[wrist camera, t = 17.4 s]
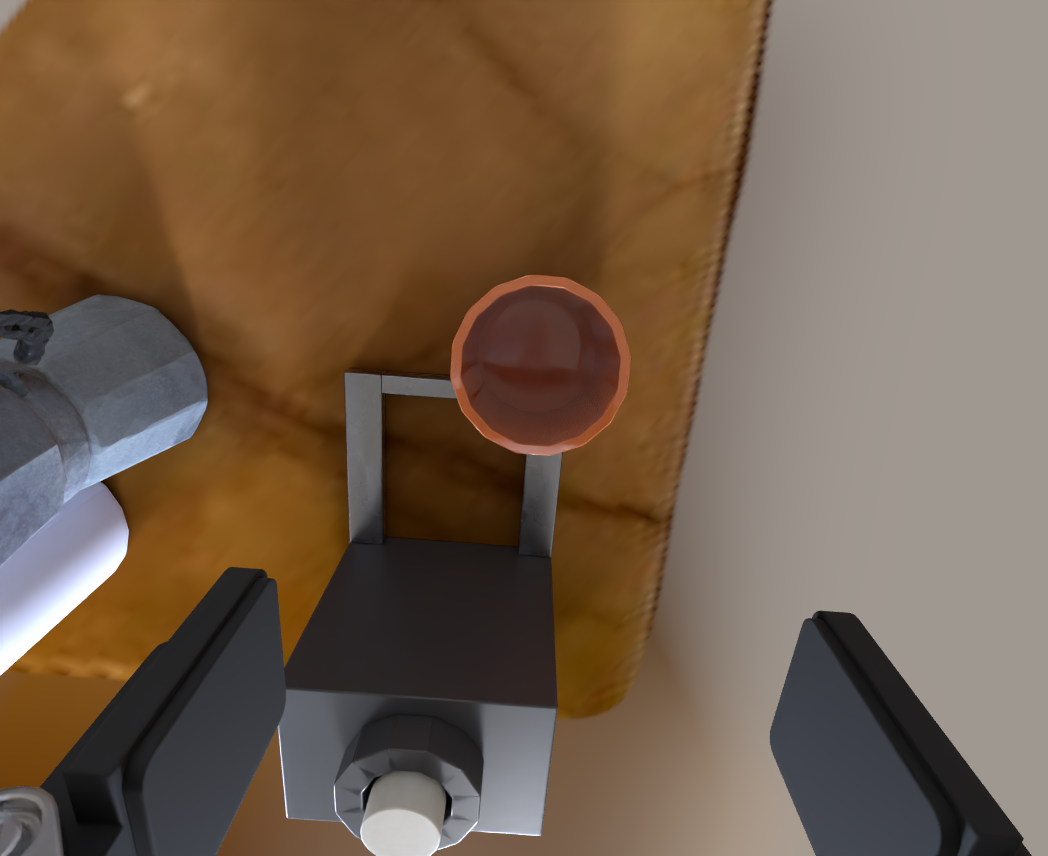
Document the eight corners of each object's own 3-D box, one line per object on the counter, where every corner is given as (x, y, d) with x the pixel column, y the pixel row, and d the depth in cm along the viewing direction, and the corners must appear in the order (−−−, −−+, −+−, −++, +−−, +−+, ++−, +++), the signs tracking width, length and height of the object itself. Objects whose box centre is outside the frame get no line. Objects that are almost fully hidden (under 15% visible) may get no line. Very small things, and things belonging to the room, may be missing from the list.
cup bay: (348, 367, 33) (343, 372, 32) (568, 384, 33) (569, 389, 32) (354, 533, 37) (349, 542, 36) (550, 548, 37) (551, 558, 36)
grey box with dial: (354, 533, 37) (254, 722, 24) (550, 548, 37) (559, 743, 24) (357, 639, 40) (270, 858, 27) (539, 652, 40) (541, 876, 27)
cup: (475, 282, 31) (456, 268, 22) (607, 292, 31) (639, 283, 22) (467, 412, 32) (446, 448, 24) (594, 422, 33) (620, 461, 24)
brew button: (370, 765, 25) (359, 805, 23) (447, 771, 25) (441, 811, 24) (371, 819, 26) (360, 860, 25) (445, 824, 26) (439, 866, 25)
